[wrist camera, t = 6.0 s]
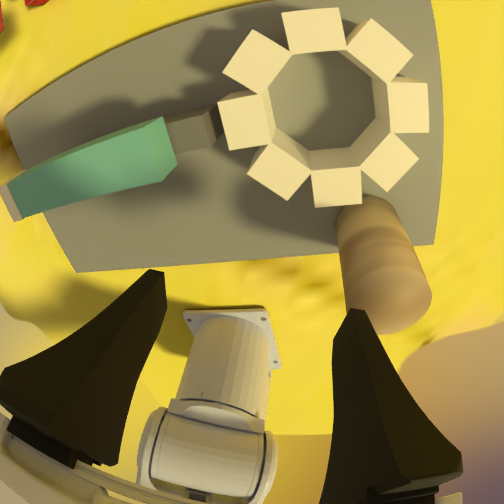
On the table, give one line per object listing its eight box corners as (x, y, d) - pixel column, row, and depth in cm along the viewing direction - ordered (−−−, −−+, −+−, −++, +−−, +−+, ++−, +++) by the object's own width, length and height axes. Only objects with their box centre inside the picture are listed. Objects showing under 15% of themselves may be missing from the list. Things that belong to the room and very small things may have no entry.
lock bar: (178, 164, 14) (161, 182, 12) (32, 205, 17) (14, 222, 15) (162, 115, 13) (142, 126, 11) (17, 173, 15) (-3, 188, 14)
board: (428, 234, 19) (448, 274, 16) (82, 264, 26) (59, 296, 23) (422, 1, 10) (456, -9, 7) (13, 113, 17) (-24, 132, 14)
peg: (396, 248, 19) (422, 329, 14) (336, 254, 20) (345, 338, 15) (399, 193, 17) (439, 268, 11) (333, 198, 18) (346, 277, 12)
